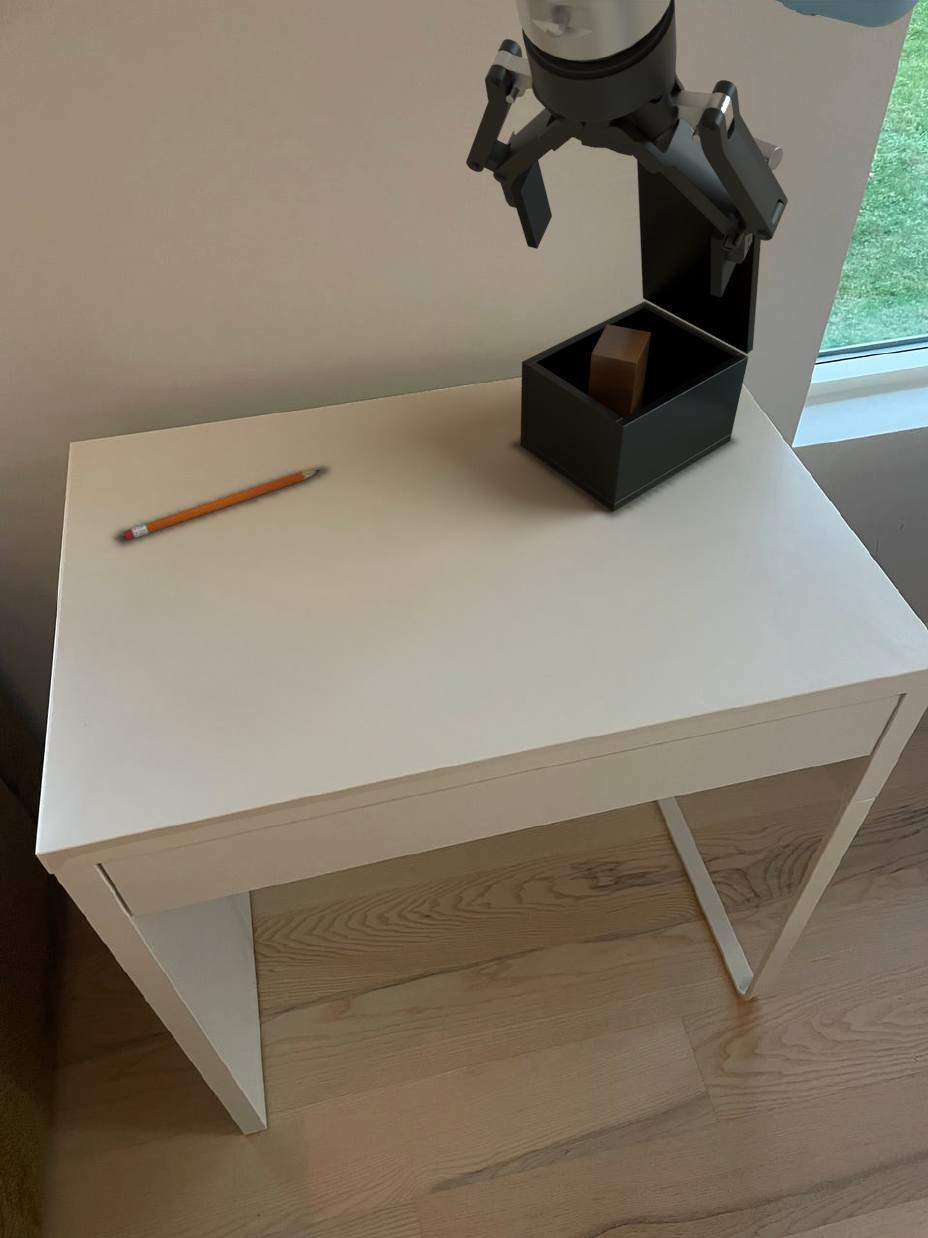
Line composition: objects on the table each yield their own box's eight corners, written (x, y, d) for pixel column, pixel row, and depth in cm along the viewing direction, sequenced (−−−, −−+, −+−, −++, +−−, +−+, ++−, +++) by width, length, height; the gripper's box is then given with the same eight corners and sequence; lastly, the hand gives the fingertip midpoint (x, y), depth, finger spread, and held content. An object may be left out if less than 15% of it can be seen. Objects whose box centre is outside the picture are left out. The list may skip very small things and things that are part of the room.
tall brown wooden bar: (637, 433, 93) (651, 331, 85) (624, 464, 90) (636, 362, 82) (597, 425, 94) (607, 324, 86) (583, 455, 91) (591, 353, 83)
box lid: (758, 182, 73) (821, 136, 75) (635, 131, 80) (695, 90, 81) (746, 354, 86) (800, 312, 88) (642, 298, 93) (694, 260, 95)
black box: (613, 512, 87) (623, 426, 80) (519, 445, 94) (521, 361, 87) (730, 441, 94) (749, 356, 87) (634, 383, 100) (645, 300, 94)
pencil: (125, 536, 87) (122, 529, 86) (320, 470, 93) (318, 463, 92) (127, 542, 87) (125, 535, 86) (323, 475, 92) (322, 468, 91)
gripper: (346, 25, 51) (449, 257, 71) (823, 121, 43) (786, 350, 63) (405, -94, 51) (490, 169, 72) (883, -21, 44) (827, 250, 64)
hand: (628, 254), depth 67 cm, fingers open, 13 cm apart
